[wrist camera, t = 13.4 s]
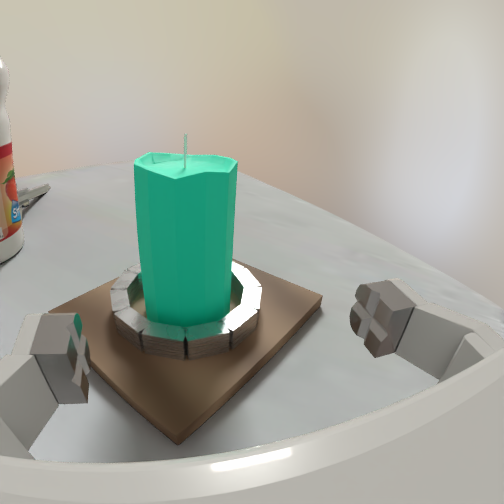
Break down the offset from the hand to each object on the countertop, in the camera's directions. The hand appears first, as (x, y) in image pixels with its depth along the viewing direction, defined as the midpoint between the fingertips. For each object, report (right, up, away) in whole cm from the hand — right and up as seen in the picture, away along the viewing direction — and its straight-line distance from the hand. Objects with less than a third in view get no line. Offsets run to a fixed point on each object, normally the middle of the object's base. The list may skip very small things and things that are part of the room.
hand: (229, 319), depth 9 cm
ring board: (-4, -3, +14) cm, 15 cm away
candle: (-4, -2, +14) cm, 15 cm away
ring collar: (-4, -3, +14) cm, 15 cm away
